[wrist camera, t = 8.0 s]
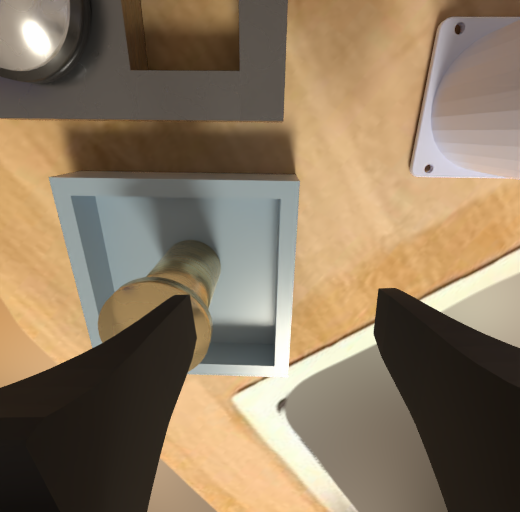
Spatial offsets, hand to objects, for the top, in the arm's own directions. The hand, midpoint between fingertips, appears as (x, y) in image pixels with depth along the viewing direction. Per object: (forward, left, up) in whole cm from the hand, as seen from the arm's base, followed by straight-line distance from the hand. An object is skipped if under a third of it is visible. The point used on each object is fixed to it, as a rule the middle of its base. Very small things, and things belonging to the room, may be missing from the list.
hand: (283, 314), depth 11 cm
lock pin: (+6, +2, -9) cm, 11 cm away
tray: (+6, +3, -10) cm, 12 cm away
